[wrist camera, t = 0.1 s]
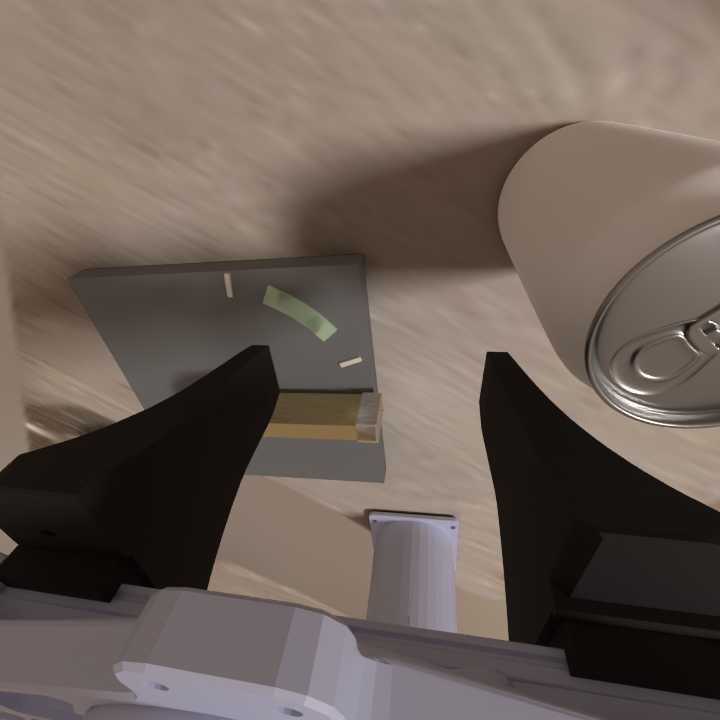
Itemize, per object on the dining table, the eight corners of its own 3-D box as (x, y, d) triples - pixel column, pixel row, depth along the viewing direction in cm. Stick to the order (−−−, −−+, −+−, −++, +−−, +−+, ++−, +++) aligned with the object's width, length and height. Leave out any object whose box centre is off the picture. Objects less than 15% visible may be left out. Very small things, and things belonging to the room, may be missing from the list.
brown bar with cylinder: (384, 426, 25) (380, 461, 23) (224, 421, 28) (204, 453, 25) (379, 374, 23) (373, 408, 20) (203, 373, 25) (179, 403, 23)
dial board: (386, 467, 31) (383, 484, 30) (189, 457, 34) (179, 472, 33) (362, 253, 21) (358, 265, 19) (85, 269, 24) (65, 279, 23)
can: (467, 208, 18) (506, 339, 9) (591, 79, 15) (876, 66, 5) (551, 290, 20) (659, 473, 11) (679, 192, 17) (1013, 332, 7)
